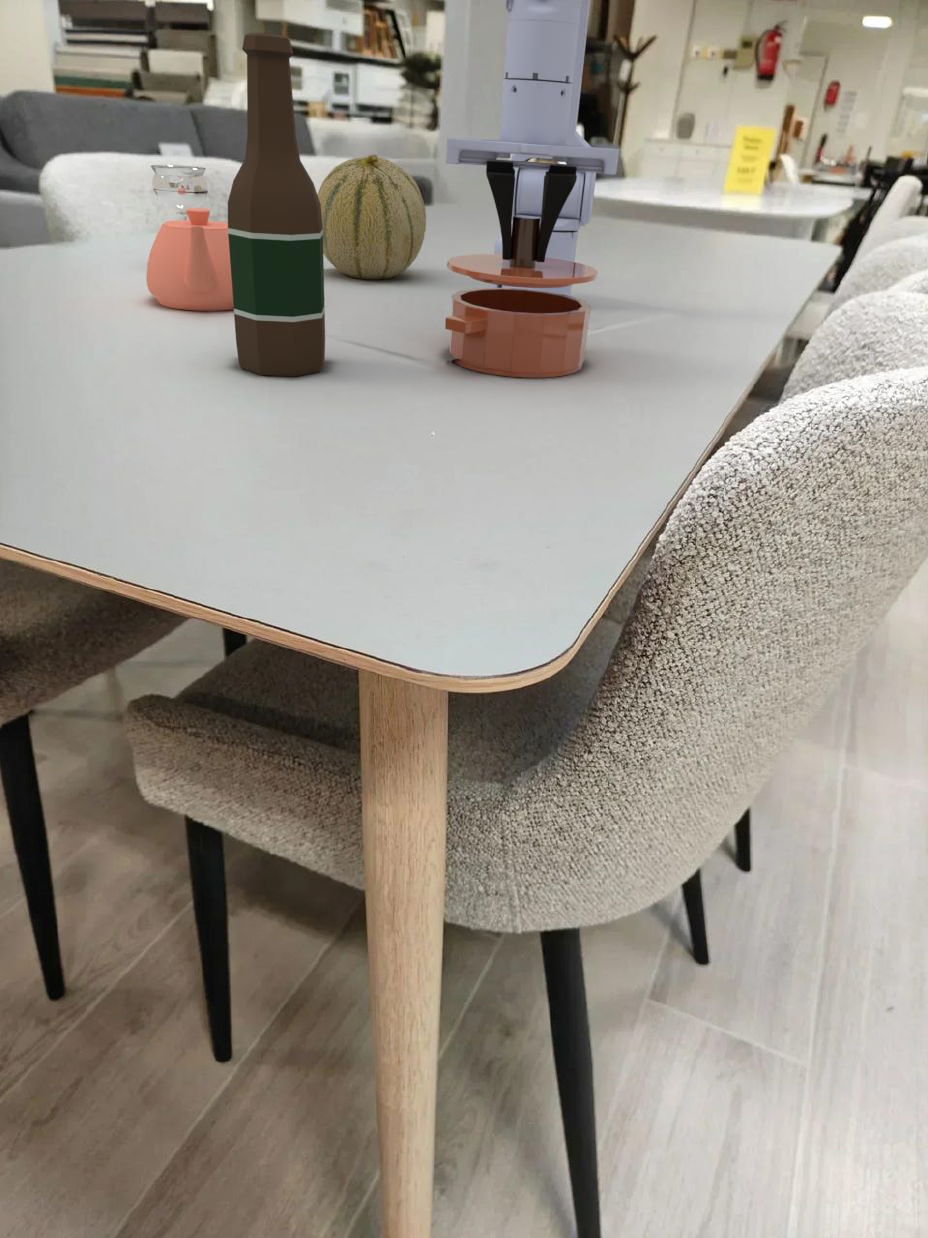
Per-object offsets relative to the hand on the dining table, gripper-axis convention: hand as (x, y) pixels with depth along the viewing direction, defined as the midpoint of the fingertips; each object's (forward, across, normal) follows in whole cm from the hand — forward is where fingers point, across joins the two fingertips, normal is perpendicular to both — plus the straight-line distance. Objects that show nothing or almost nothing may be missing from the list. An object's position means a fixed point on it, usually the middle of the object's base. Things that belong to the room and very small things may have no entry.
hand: (522, 259), depth 77 cm
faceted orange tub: (+9, 0, 0) cm, 9 cm away
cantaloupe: (+9, -18, +39) cm, 44 cm away
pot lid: (+1, 0, 0) cm, 1 cm away
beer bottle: (+9, -20, -8) cm, 24 cm away
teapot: (+9, -34, +17) cm, 39 cm away
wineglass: (+9, -42, +38) cm, 57 cm away
